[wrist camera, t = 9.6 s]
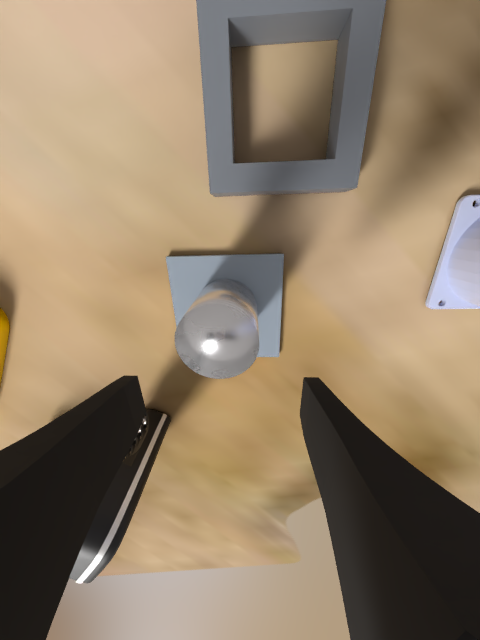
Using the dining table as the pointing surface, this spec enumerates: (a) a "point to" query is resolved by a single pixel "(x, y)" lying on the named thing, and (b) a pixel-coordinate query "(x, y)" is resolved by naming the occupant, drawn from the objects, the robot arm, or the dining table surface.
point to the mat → (246, 268)
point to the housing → (347, 99)
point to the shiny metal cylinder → (220, 330)
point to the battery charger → (120, 499)
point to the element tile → (3, 339)
